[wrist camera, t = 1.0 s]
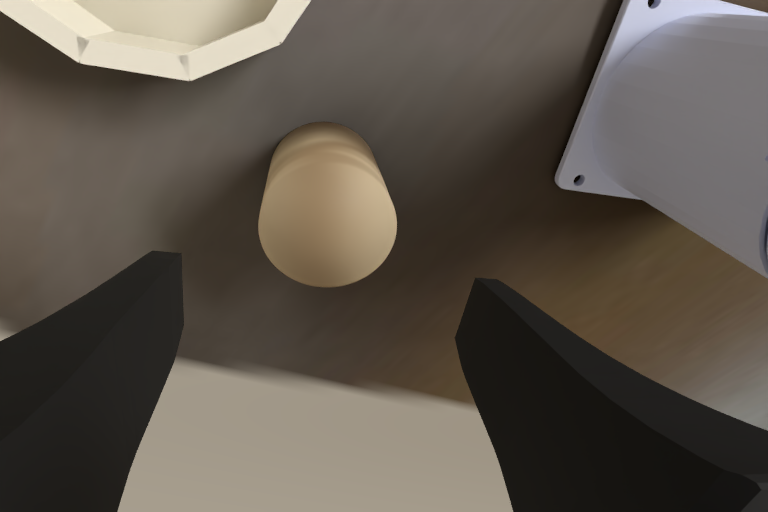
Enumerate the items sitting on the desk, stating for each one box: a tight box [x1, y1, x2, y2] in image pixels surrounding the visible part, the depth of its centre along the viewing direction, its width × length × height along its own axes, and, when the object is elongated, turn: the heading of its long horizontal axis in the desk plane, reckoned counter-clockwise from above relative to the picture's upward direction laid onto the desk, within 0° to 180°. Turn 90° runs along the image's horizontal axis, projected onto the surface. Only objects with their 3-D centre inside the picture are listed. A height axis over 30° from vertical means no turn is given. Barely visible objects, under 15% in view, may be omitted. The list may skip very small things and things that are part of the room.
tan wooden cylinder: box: [258, 122, 397, 287], centre depth 16 cm, size 4×4×5 cm
